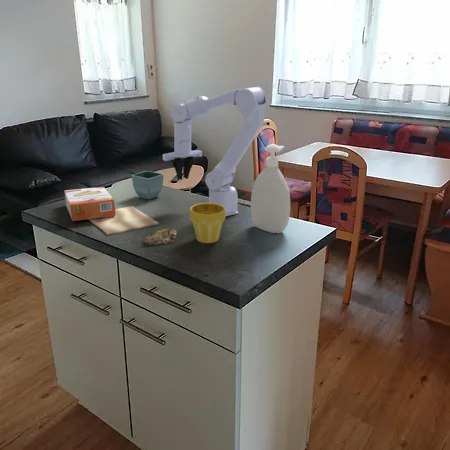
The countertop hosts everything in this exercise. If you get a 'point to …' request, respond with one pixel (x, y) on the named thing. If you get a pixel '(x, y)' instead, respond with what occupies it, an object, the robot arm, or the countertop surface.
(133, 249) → the countertop surface
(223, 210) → the plant pot
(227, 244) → the countertop surface
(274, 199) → the soap bottle
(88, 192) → the cracker box
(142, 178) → the flower pot
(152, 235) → the mineral rock
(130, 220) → the board
